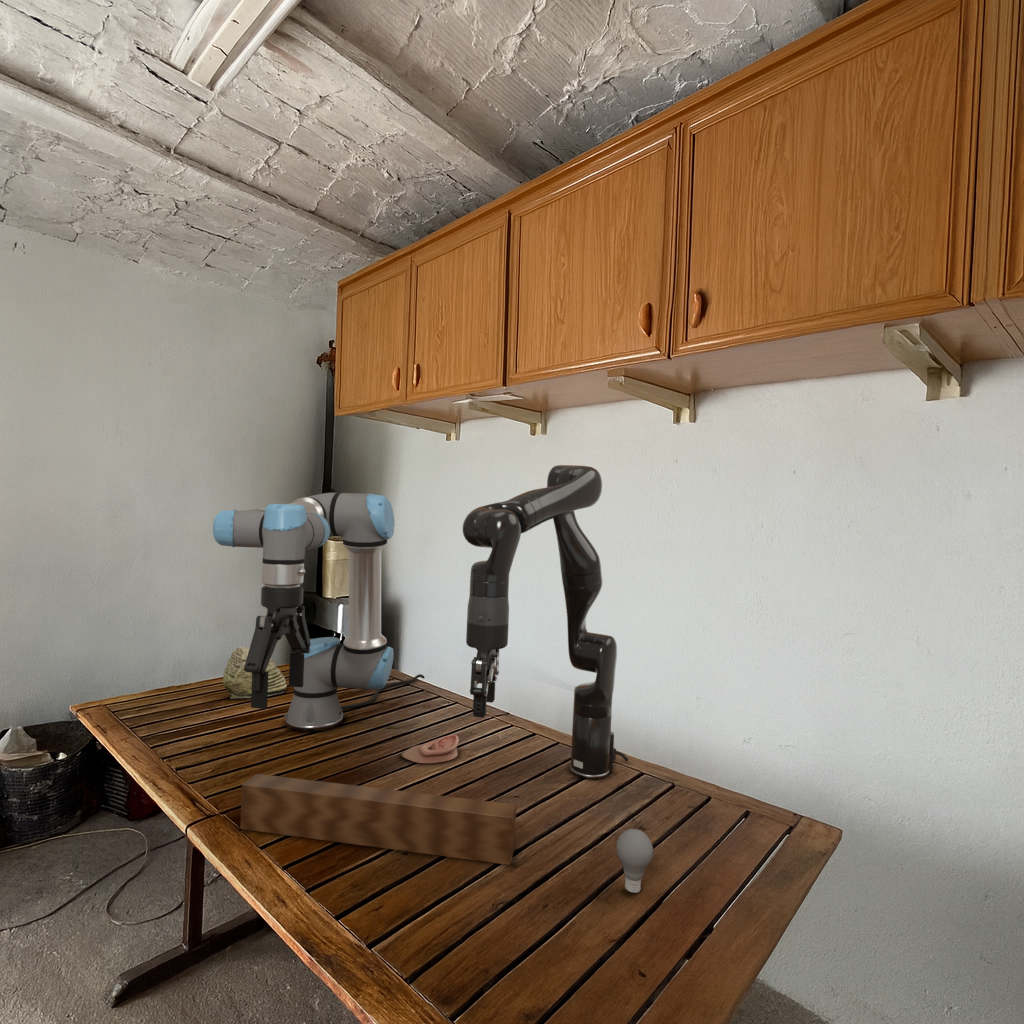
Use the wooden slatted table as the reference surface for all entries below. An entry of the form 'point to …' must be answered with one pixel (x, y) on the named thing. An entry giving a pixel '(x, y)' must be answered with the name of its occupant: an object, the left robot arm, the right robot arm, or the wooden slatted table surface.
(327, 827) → the beam
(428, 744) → the anatomical model
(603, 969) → the wooden slatted table surface
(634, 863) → the light bulb
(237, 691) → the fossil
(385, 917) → the wooden slatted table surface
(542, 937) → the wooden slatted table surface
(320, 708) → the left robot arm
